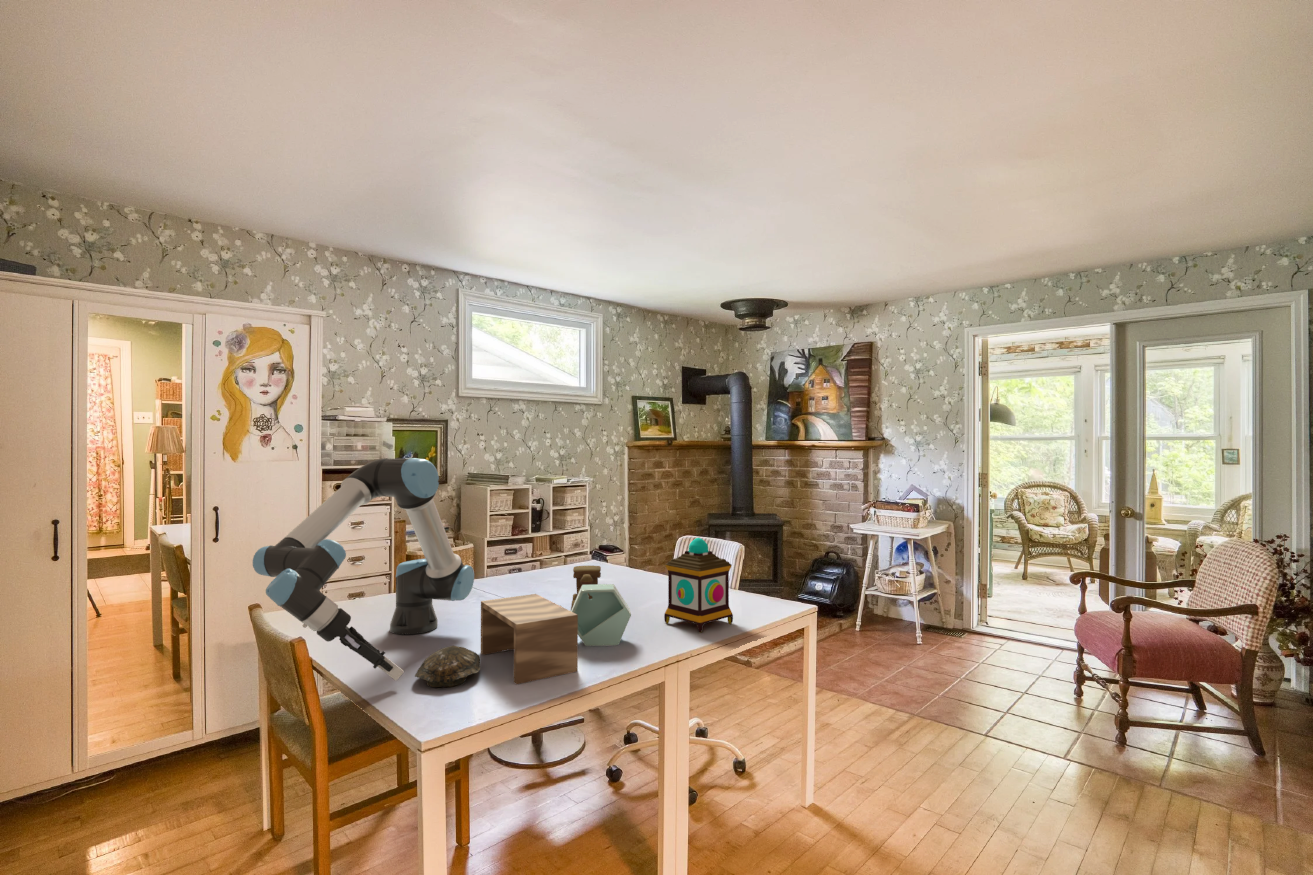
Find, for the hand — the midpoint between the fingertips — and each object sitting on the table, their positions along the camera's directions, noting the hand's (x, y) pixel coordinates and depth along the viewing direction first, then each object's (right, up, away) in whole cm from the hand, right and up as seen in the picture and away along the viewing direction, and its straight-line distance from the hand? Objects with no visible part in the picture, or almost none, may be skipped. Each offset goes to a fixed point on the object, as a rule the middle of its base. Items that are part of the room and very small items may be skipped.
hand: (399, 675), depth 161 cm
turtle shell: (+10, -3, +7) cm, 13 cm away
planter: (+48, -4, +38) cm, 61 cm away
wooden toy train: (+40, -5, +70) cm, 81 cm away
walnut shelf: (+28, -3, +19) cm, 34 cm away
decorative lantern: (+81, -4, +59) cm, 100 cm away
